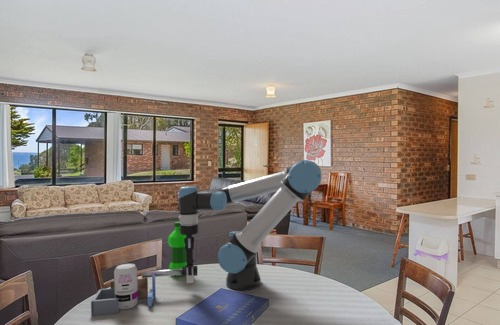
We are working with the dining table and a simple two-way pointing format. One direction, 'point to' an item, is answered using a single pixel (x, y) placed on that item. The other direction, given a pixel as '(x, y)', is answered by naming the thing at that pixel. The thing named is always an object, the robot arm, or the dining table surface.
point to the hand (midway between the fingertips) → (190, 280)
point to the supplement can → (126, 285)
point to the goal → (104, 302)
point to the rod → (163, 273)
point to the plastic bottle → (177, 248)
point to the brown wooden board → (141, 287)
